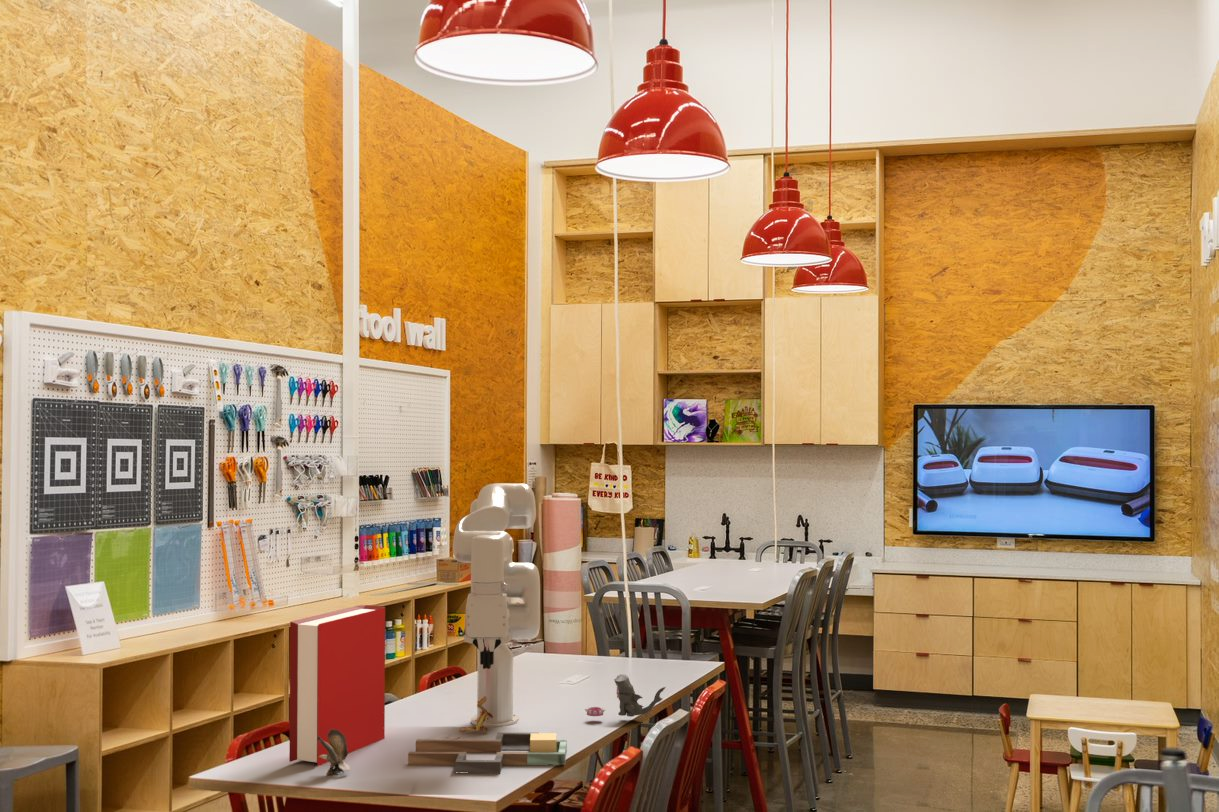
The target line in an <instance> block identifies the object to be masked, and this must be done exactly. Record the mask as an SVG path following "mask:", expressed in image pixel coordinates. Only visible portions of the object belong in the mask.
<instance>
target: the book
mask: <svg viewBox="0 0 1219 812" xmlns="http://www.w3.org/2000/svg"><path fill="white" fill-rule="evenodd" d="M289 622H290V623H289V627H290V628H289V629H290V630H289V634H290V635H289V640H290V641H289V642H290V643H289V658H290V659H289V754H288V755H289V757H288V758H289V762H290V763H291V762H295V761H297V760H298V761H305V762H311V763H316V764H317V766H318V767H319V766H322V765H324V764H327V763H330V762H329V761H327V760H325V759H323V758H319V756H321V755H328V751H327V750H326V748H325V747H324V746H323V744H322V743H321V742H320V741H319V740H318V737H320V738H321V739H322V740H323V741H325V742H327V743H328V744H330V742H329V739H328V733H329V732H330V731H331V729H333V730H335V729H336V730H338V731H340V732H341V733H342V734H343V735H344V736H345V738H346V743H347V750H348V754H350V753H353V752H356V751H358V750H360V749H362V748H365V747H367V746H370V745H373V744H374V743H377V742H379V741H382V740H385V733H386V732H385V727H386V726H385V722H386V719H385V717H386V716H385V715H386V714H385V713H386V711H385V709H386V707H385V703H386V702H385V701H386V699H385V697H386V692H385V688H386V606H384V605H383V606H379V605H371V604H369V605H368V604H364V605H361V604H360V605H356V606H355V605H354V606H350V607H347V608H346V607H345V608H343V609H338V610H333V611H331V612H330V611H329V612H325V613H321V614H317V615H312V616H308V617H303V618H300V619H295V620H291V621H289Z"/></svg>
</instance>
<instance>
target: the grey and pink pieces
mask: <svg viewBox="0 0 1219 812" xmlns="http://www.w3.org/2000/svg"><path fill="white" fill-rule="evenodd" d="M614 683H615V685H616V699H618V701H619V712H618V716H626V717H630V718H631V717H635V716H641V715H646V714H648V713H650V712H651V711H652V710H653V709H654V707H655V705H656V704H657V703H659V702H661V701H662V700H663V699H664V698H662V697H661V693H662V692H663V691H664V690H665V689H666V686H663V687H661V688H659V689H658V690H657V692H655V695H654V698H653V701H651V703H650V704H649V705H648V706H645V707H644V706H643V704H639V702H638V701H639V700H640V699H643V696H642V695H640V694H638V693H636V691H635V689H634V686H633V684H632V683H631V681H630V678H629V676H628V675H627V674H619V675H617V676H616V677H615V679H614ZM584 711H585V712H586V715H587V716H589V717H602V716H604V712H605V711H606V709H604V707H599V706H593V707H592V706H591V707H589V706H588V707H587V708H585V709H584Z"/></svg>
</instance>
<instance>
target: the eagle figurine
mask: <svg viewBox="0 0 1219 812" xmlns="http://www.w3.org/2000/svg"><path fill="white" fill-rule="evenodd" d="M328 739H329V742H330V744H328V743H327V742H325V741H323V740H322V739H321V738H320V737H318V740H319V741H320V742H321V743H322V744H323V746H324V747H325V748H326V750H327V751H328V755H321V756H319V758H323V759H325V760H327V761H329V762H328V763H330V765H329V769H328V770H327V772H326V776H327V777H328V776H329V775H331V774H335V775H336V776H338V775H339V773H338V772H341V773H343V774H345V772H346V771H347V772H349V771H350V769H351V766H350V765H349V764H348V763H346V762H345V760H346V758H347V757H348V754H349V753H348V750H347V743H346V738H345V736H344V735H343V734H342V733H341V732H340V731H338V730H336V729H335V730H333V729H331V731H330V732H329V733H328Z"/></svg>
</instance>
